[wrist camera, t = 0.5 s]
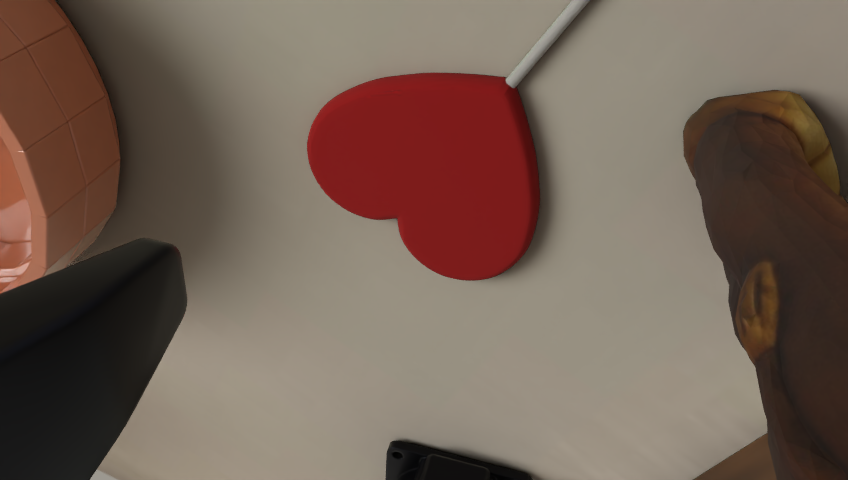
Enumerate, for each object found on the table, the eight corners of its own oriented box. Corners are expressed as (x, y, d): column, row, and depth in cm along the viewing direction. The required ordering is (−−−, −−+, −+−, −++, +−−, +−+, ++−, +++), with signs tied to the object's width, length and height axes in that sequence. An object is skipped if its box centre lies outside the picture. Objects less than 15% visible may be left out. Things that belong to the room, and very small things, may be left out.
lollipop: (590, -311, 15) (292, 156, 24) (587, -313, 14) (280, 169, 23) (860, -64, 16) (479, 289, 25) (870, -55, 15) (473, 306, 24)
